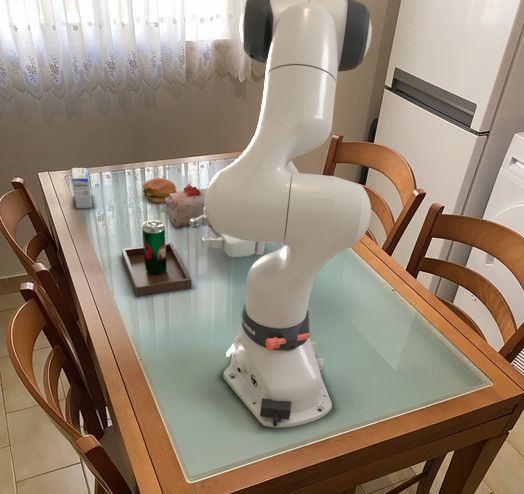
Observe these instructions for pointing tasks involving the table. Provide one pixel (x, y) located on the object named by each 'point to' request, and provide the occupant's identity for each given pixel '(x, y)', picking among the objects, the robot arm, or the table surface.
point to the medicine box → (81, 188)
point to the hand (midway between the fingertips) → (196, 232)
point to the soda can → (154, 246)
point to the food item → (185, 205)
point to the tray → (156, 283)
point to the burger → (158, 189)
